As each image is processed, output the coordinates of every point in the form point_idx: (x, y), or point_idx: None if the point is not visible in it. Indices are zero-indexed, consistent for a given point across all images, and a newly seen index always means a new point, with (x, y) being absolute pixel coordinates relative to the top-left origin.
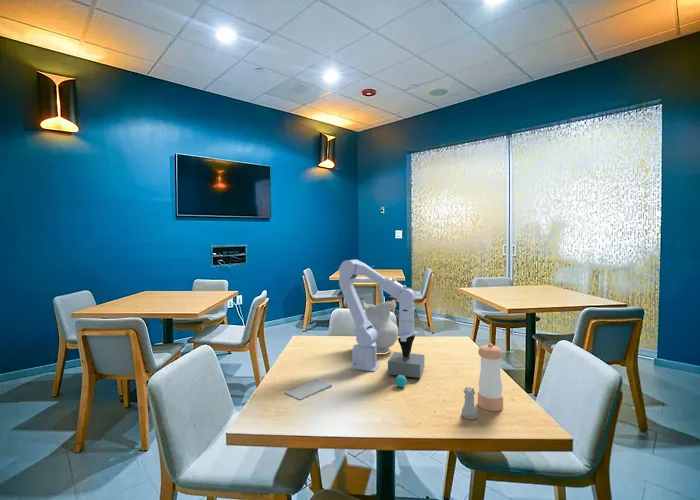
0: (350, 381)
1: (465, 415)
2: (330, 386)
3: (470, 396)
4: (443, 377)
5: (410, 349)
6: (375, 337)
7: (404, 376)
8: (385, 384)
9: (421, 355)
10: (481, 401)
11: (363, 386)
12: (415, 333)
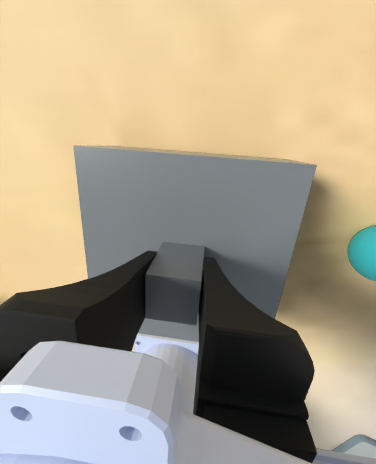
0: (313, 397)
1: None
2: (368, 439)
3: None
4: (209, 17)
5: (147, 266)
6: None
7: None
8: (337, 299)
9: (97, 167)
10: None
11: (359, 363)
12: (172, 426)
